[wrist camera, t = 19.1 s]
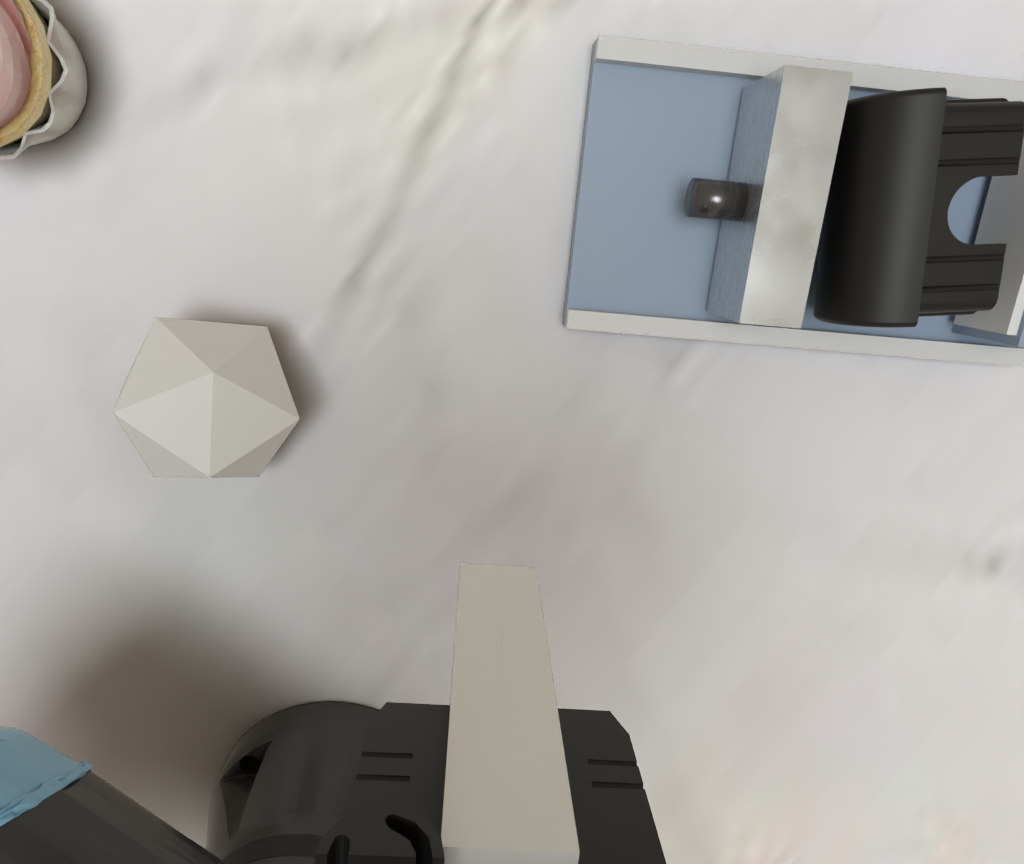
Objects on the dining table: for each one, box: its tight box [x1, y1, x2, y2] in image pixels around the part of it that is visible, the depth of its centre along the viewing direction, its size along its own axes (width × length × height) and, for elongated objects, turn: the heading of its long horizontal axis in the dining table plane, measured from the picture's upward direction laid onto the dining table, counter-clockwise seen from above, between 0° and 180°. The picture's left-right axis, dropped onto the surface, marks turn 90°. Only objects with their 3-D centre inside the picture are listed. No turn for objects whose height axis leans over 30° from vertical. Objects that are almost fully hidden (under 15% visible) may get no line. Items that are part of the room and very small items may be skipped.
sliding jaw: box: [684, 65, 853, 328], centre depth 33 cm, size 11×6×5 cm, turn 175°
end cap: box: [814, 87, 1024, 328], centre depth 33 cm, size 10×7×7 cm
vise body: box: [563, 35, 1024, 367], centre depth 35 cm, size 14×26×6 cm, turn 85°
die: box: [113, 317, 300, 478], centre depth 35 cm, size 8×9×10 cm
